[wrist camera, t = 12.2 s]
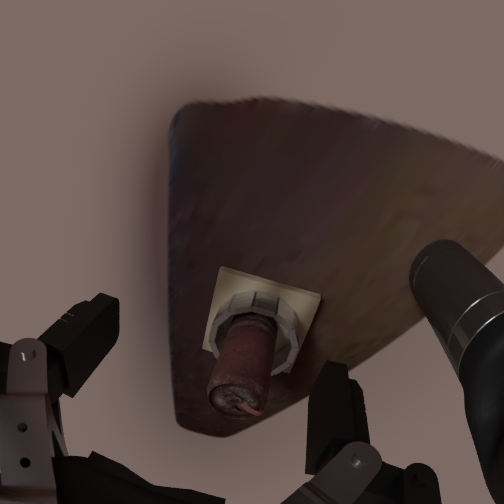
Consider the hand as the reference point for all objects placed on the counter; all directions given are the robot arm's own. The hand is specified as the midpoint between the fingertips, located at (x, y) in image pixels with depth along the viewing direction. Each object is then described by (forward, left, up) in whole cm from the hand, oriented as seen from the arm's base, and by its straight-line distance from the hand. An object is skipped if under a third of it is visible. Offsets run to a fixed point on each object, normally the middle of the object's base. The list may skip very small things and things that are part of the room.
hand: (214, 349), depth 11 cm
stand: (-2, +17, -28) cm, 32 cm away
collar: (-2, +17, -26) cm, 31 cm away
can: (-2, +17, -26) cm, 31 cm away
